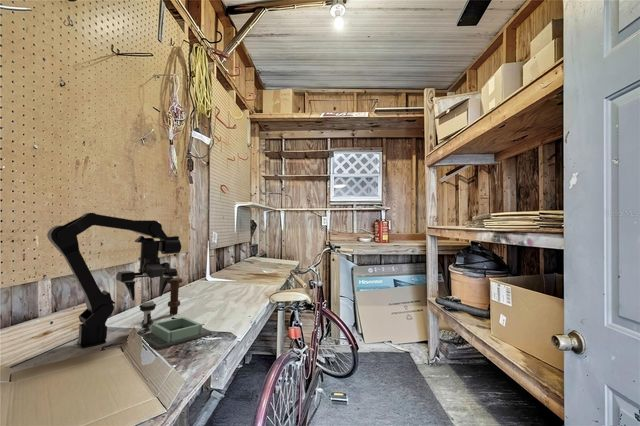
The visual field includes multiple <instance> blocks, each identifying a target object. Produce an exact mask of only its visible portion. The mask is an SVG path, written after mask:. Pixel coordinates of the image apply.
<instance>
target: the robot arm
mask: <svg viewBox="0 0 640 426" xmlns="http://www.w3.org/2000/svg"><path fill="white" fill-rule="evenodd" d="M92 226H97V227H104V228H110V229H111V228H112V229H116V230H117V229H118V230H126V231H130V232H133V233H136V234H139V237H137V238H136V239H135V240H134V243H138V244H139V243H140V257H139V258H138V261H139V268H138V271H137V272H134V271H132V270H124V271H123V270H122V271H118V272H117V273H116V279H115V280H116V281H119V282H120V283H123V284H124V285H125V287H126V289H127V292H128V294H129V297H130V299H131V301H135V296H136V295H135V294H136V293H135V291H136V290H135V286H136V285H135V284H136V281H135V280H134V279H138V278H139V279H140V278H150V279H154V278H159V286H158V287H159V288H158V294H159V297H163V294H164V292H165V289H166V288H167V285H168V284H169V283H168V282H169V281H170V280H171V279H173V278H175V277H178V270H177V268H176V267H175V268H174V267H171V264H170V262H169V261H168V262H162V263H161V261H160V260H161V259H160V257H159V252H160V253H161V255H172V254H173V255H174V254H175V255H176V254H180V253H181V251H182V243H181V240H180V239H179V238H180V236H178V235H173V236H168V235H167V234H166V233H165V231H164V230H163V225H162V224H161V222H160V221H158V220H154V219H153V220H145V219H144V220H143V219H142V220H137V219H136V220H134V219H129V218H128V219H127V218H121V217H117V216H110V215H106V214H105V215H103V214H97V213H95V212H86V213H84V214H82V215H81V216H79V217H78V218H75V219H73V220H71V221H69V222H67V223H66V224H63V225H54V226H52V227H51V228H50V229H48V231H47V234H46V237H47V239H48V241H49V242H50V243H51V244H52V245H53V247H54V248H56V250H57V251H58V252H59V253H60V254H61V255H62V256H63V257H64V258H63V259H65V261H66V263H67V264H68V267H69V269H70V270H71V272H72V274H73V276H74V278H75V279H76V281H77V284H78V285H79V287H80V289H81V291H82V293H83V294H84V302H85V306H86V309H85V310H84V311H83V312H81V313H80V315H78V320H79V322H80V324H79V325H78V340H77V341H76V344H77V345H78V347H79V348H80V349H85V348H88V347H92V346H96V345H101V344H106V343H107V337H108V325H106V323H107V322H108V319H109V317H111V315H112V314H113V313H114V311H115V305H114V304H116V302H115V301H114V300H113V299H112V295H111V293H110V292H109V291H107V290H105V289H104V290H101V289H100V288H99V286H98V284H97V282H96V280H95V279H94V276H93V275H92V272H91V271H90V268H89V266H88V265H87V262H86V261H85V259H84V257H83V255H82V253H81V252H80V245H79V240H78V235H80V234H81V233H84V232H85V231H87V230H88V229H89V228H92ZM144 236H146V237H144ZM155 239H159V240H155Z"/></svg>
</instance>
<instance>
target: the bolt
mask: <svg viewBox="0 0 640 426" xmlns="http://www.w3.org/2000/svg"><path fill="white" fill-rule="evenodd" d="M182 283H183V279H182V278H179V277H178V278H177V277H174V278H173V279H171V280H170V281H169V282H168V283H167V284H170V296H169V297H170V299H169V301H168V302H167V307H168V308H169V315H171V316H175V315H177V314H178V313H179V311H178V310H179V307H180V305H181V301H180V300H179V289H180V284H182Z"/></svg>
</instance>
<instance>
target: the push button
mask: <svg viewBox="0 0 640 426" xmlns="http://www.w3.org/2000/svg"><path fill="white" fill-rule="evenodd" d="M156 306H157V303H155V301H153V300H149V301H146V300H145V301H143V302H142V304H140V305H139V307H138V308H139V311H140V312H142V313H143V319H142V320H141V321H142V322H141V328H140V333H143V334H144V333H149V331H151V324H153V323H154V320H153V318H152V312H153V311H154V310H156Z"/></svg>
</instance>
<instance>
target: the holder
mask: <svg viewBox="0 0 640 426" xmlns="http://www.w3.org/2000/svg"><path fill="white" fill-rule="evenodd" d="M178 327H184V328H182V329H177V330H173V331H169V329H174V328H178ZM202 327H203V324H202V323H199V322H197V321H195V320H192V319H190V318H188V317H186V316H182V317H177V318H176V317H175V318H172V319H168V320H163V321H158V322H153V324H151V330H150V333H152V334H154V335H156V336H158V337H159V338H161V339H163V340H164V341H166V342H168V343H169V342H172V341H176V340H180V339H183V338H187V337H191V336H195V335H198V334H202Z"/></svg>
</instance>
